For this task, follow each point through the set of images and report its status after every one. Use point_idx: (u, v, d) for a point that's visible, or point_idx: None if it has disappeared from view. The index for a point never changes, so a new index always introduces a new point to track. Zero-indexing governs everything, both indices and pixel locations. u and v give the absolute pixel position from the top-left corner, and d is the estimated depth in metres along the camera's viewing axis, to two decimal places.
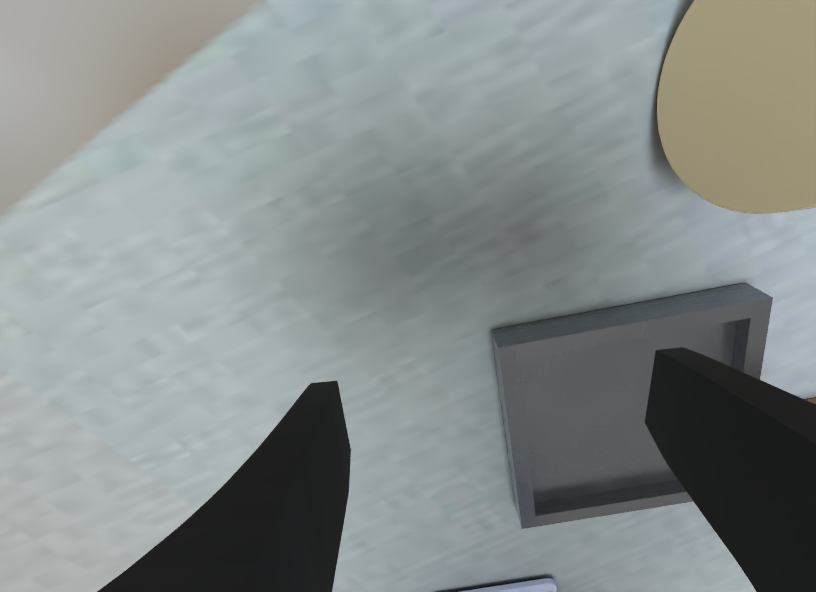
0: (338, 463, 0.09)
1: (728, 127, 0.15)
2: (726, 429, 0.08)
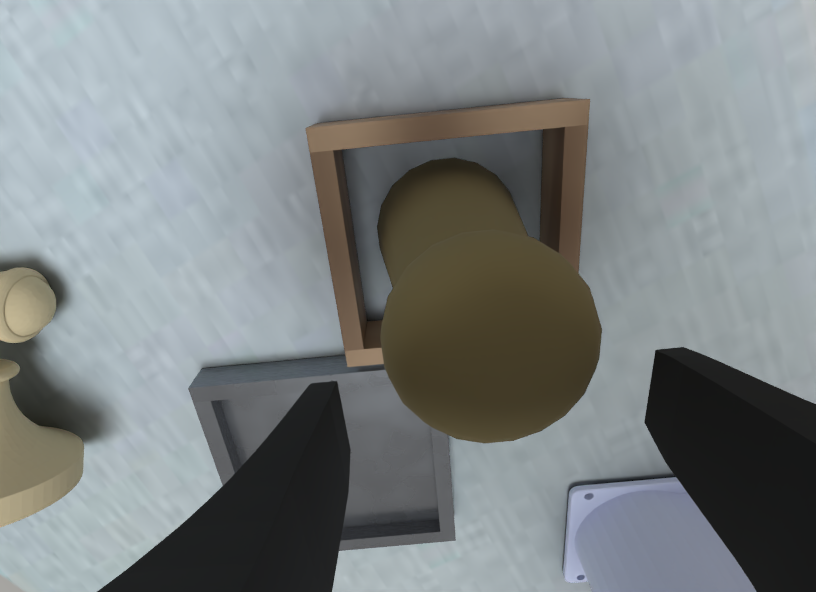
0: (338, 463, 0.09)
1: None
2: (726, 429, 0.08)
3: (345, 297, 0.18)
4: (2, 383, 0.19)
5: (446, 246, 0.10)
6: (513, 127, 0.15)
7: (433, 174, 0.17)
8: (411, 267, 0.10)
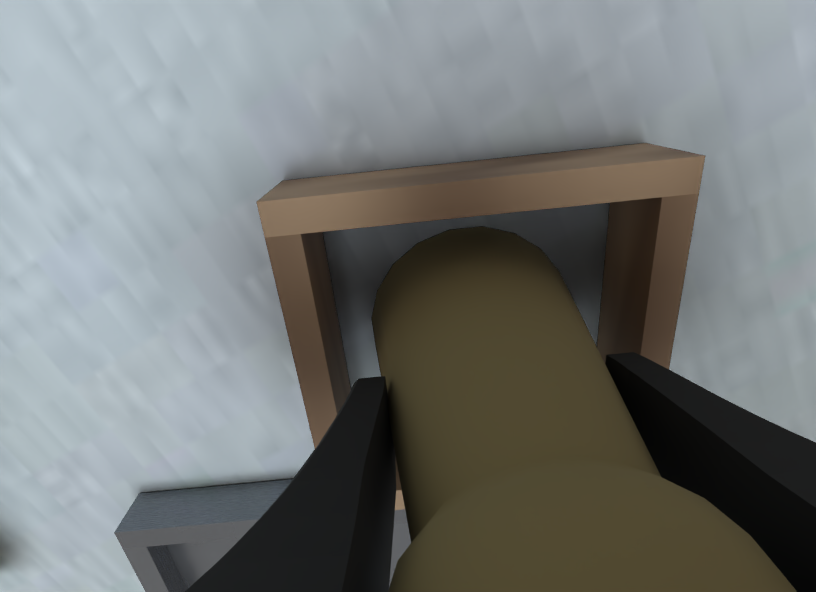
0: (389, 458, 0.09)
1: None
2: (664, 435, 0.08)
3: (325, 431, 0.12)
4: None
5: (517, 552, 0.04)
6: (581, 198, 0.10)
7: (454, 260, 0.11)
8: (438, 579, 0.05)
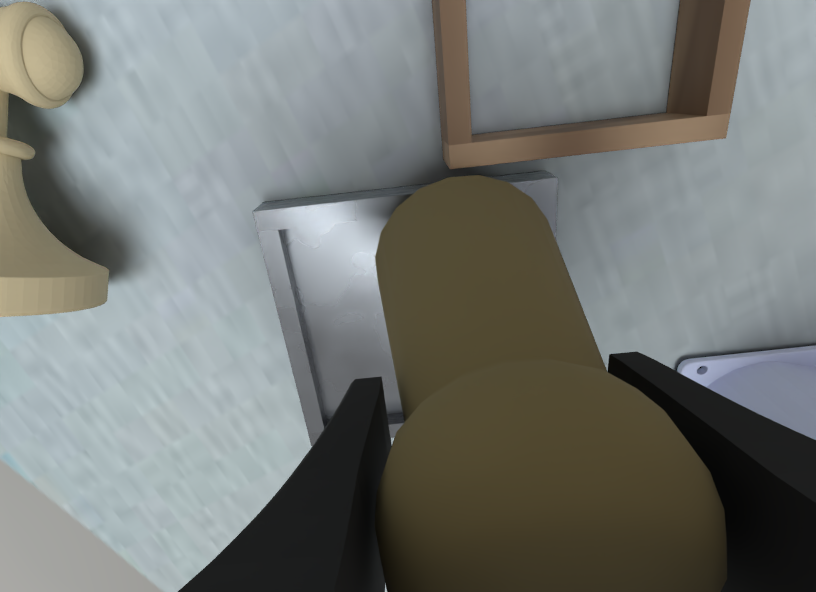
0: (386, 459, 0.09)
1: None
2: None
3: (455, 65, 0.15)
4: (14, 160, 0.15)
5: (486, 410, 0.06)
6: None
7: (451, 204, 0.12)
8: (427, 432, 0.06)
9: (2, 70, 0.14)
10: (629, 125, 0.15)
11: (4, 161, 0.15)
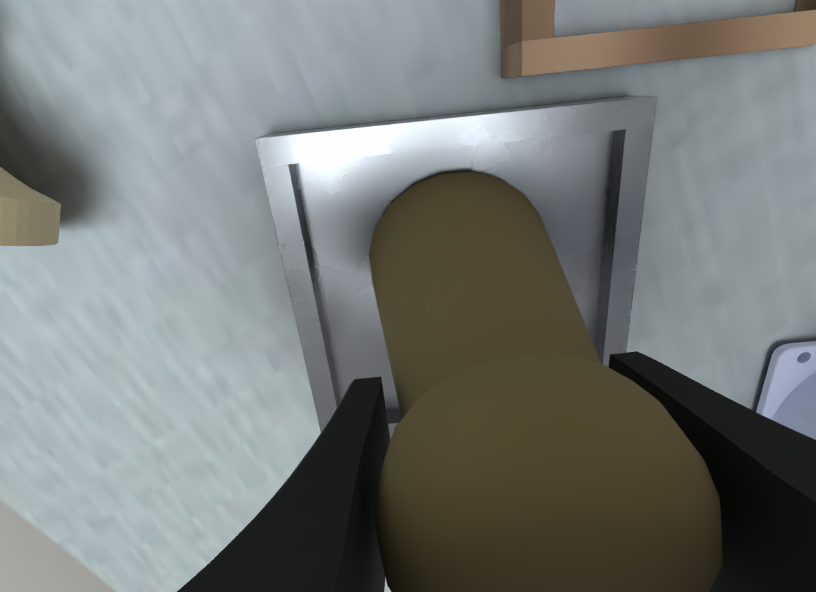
0: None
1: None
2: None
3: None
4: None
5: (485, 404, 0.06)
6: None
7: (445, 201, 0.12)
8: (426, 427, 0.06)
9: None
10: (767, 16, 0.11)
11: None
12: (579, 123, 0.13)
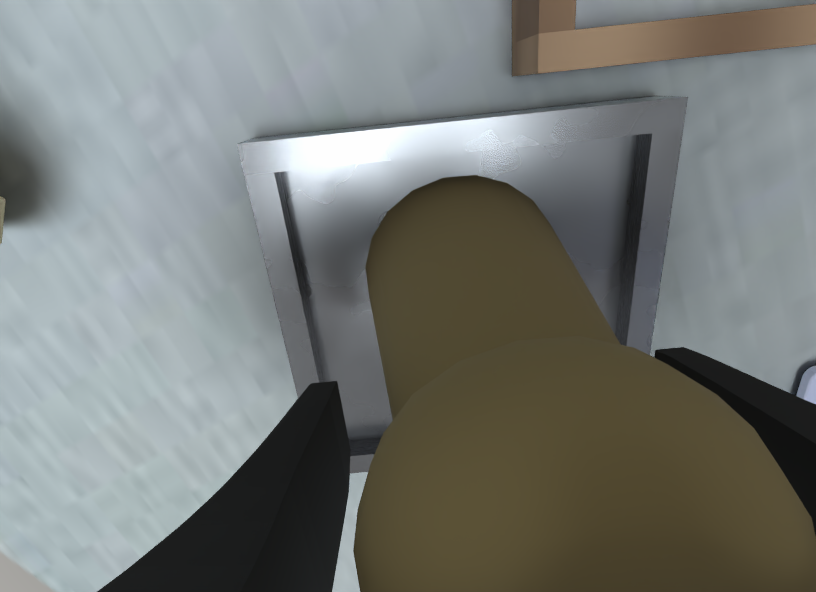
0: (338, 463, 0.09)
1: None
2: None
3: None
4: None
5: (495, 388, 0.05)
6: None
7: (447, 200, 0.11)
8: (420, 422, 0.05)
9: None
10: None
11: None
12: (600, 126, 0.12)
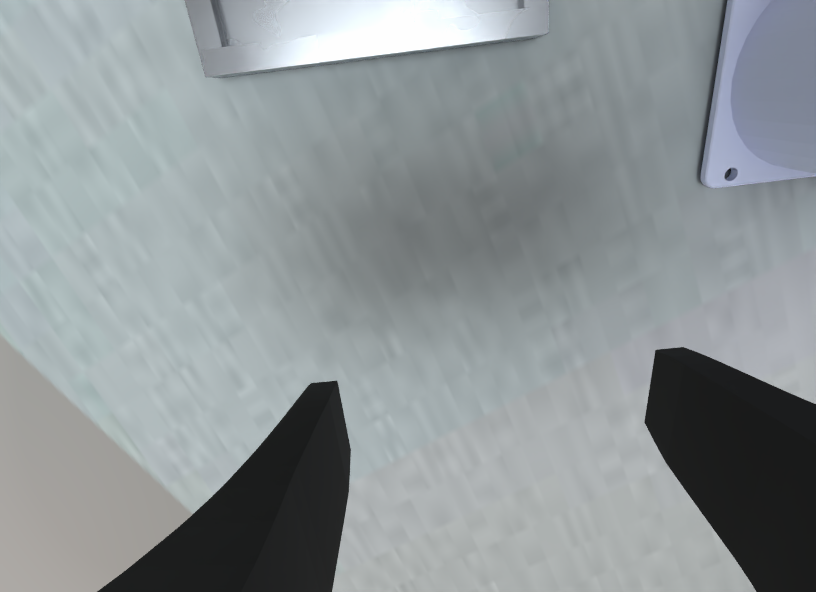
0: (338, 463, 0.09)
1: None
2: (726, 429, 0.08)
3: None
4: None
5: None
6: None
7: None
8: None
9: None
10: None
11: None
12: None
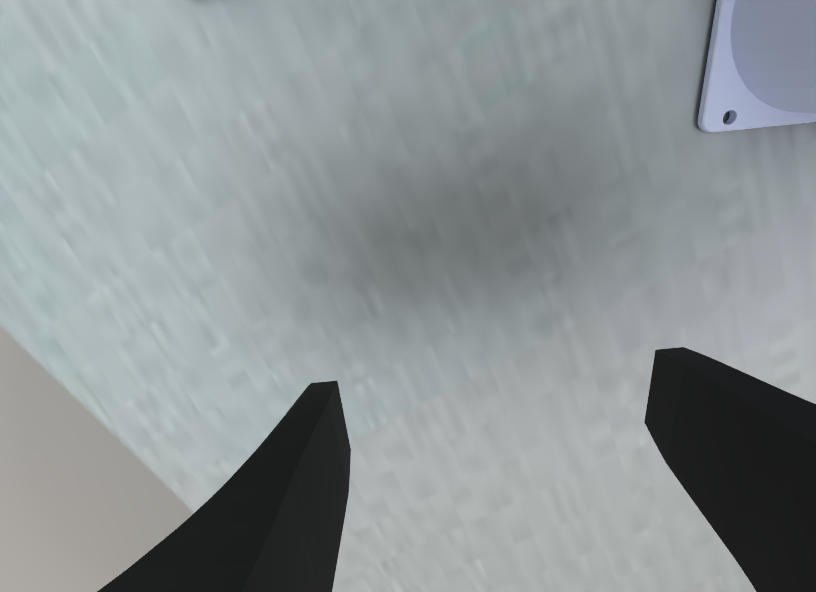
0: (338, 463, 0.09)
1: None
2: (726, 429, 0.08)
3: None
4: None
5: None
6: None
7: None
8: None
9: None
10: None
11: None
12: None
